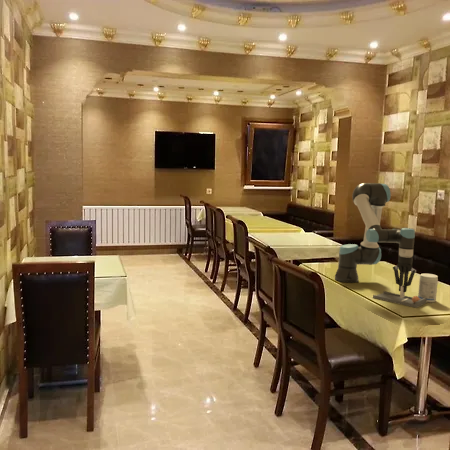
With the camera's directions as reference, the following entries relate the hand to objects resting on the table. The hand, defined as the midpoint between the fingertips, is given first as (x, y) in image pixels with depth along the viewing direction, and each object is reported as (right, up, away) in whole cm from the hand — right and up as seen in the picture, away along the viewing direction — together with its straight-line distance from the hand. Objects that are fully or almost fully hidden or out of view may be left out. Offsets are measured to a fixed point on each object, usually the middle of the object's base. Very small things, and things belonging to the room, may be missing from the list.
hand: (402, 297), depth 268 cm
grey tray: (-1, -2, +2) cm, 3 cm away
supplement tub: (+15, -3, +4) cm, 16 cm away
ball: (+6, -1, -6) cm, 8 cm away
